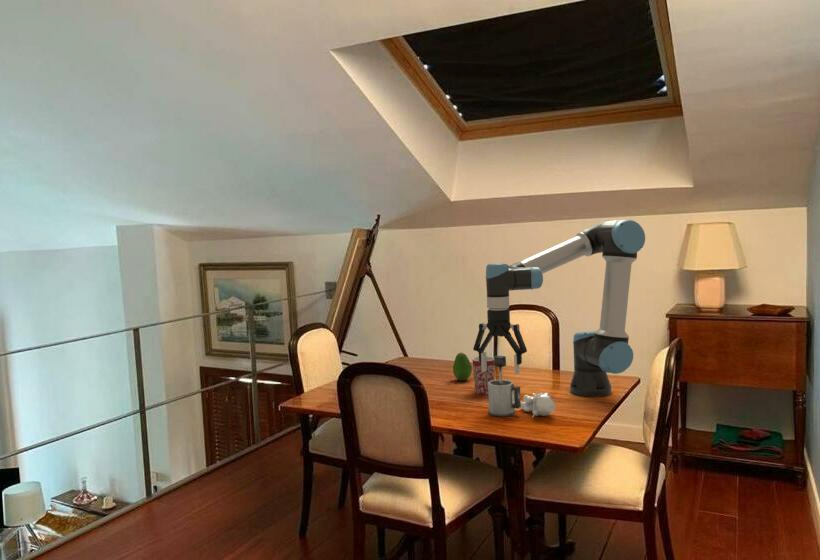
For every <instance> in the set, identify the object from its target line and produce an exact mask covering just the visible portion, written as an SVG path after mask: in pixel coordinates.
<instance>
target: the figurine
mask: <svg viewBox="0 0 820 560" xmlns="http://www.w3.org/2000/svg"><path fill="white" fill-rule="evenodd" d="M522 398H523V399H522V400H523V401H521V400H520V402H521V407H520V408H521V410H524V411H525V412H528V413H529V412H531V411H532V412H531V413H532V416H531V418H534V417H535V416H536V417H538V416H543V417H544V416H550V415H551V414H553V412H554V411H555V408H556V403H555V399H553V396H551V395H550V392H549V391H547V392H538V393H537V394H535V393H532V396H530V395H528V394H524V395H523V397H522Z"/></svg>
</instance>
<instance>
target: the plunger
mask: <svg viewBox="0 0 820 560" xmlns="http://www.w3.org/2000/svg"><path fill="white" fill-rule="evenodd" d="M493 357H494V366H495V367H496V368H498V378H499V379H498V380H499V383H500V385H502V380H503V374H502V373H503V369H502V368H503V367H507V356H505V355H495V356H493Z"/></svg>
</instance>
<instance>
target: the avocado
mask: <svg viewBox="0 0 820 560" xmlns="http://www.w3.org/2000/svg"><path fill="white" fill-rule="evenodd" d="M472 371H473V365H472V364H471V362H470V359H469V357H468V355H466V354H465V353H464V352H458V353H457V354H456V356H455V359H454V362H453V365H452V372H453V375H454V377H455V378H456V380H458V381H465V380H468V379H469V378H470V377H471V375H472Z"/></svg>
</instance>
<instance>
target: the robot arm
mask: <svg viewBox="0 0 820 560" xmlns="http://www.w3.org/2000/svg"><path fill="white" fill-rule="evenodd" d="M645 242H646V233H645V230H644V228H643V227H642V226H641V224H639V223H638V222H637V221H635V220H632V219H627V218H626V219H614V220H604V221H601V222H599V223H596V224H593V225H591V226H589V227H588V228H586V229H584V230H581V231H579V232H577V233H576V236H575V237H573V238H570V239H568V240H566V241H563V242H561V243H558V244H556V245H554V246H552V247H550V248H549V247H548V248H547V249H545V250H542V251H540V252H537V253H535V254H534V255H531V256H528V257H526V258H524V259H522V260H520V261H517V262H514V263H513V264H511V265H508V263H506V262H497V263H488V264H487V265H486V267H485V284H486V308H487V310H486V311H487V312H486V313H487V322H486V323H485V322H482V323H479V324H478V332H477V335H476V339H475V342H474V345H473V348H472V349H473V351H474V352H478V357H479V362H481V364H482V372H485V371H487V361H486V356H487V351H485V350H486V348H487V346H488V345H489V343H490V342H491V340H492V339H493V337H504V339H506V341H507V342H508V344H509V345H510V347H511V348H512V351H514V353H515V354H514V355H513V362H514V363H513V365H514V370H513V371H514V376H515V375H519V374H520V365H521V364H522V363H523V361H522V360H523V358H522V357H523V356H522V355H523V354H526V353H527V352H528V350H527V347H526V344H525V341H524V339H523V336H522V333H521V331H520V324H519V323H516V324H512V323H511V322H510V321H511V316H510V315H511V314H510V313H511V312H510V309H509V307H510V291H523V290H525V291H526V290H535V289H537V290H538V289H540V288H541V287H542V286H543V284H544V275H543V274H545V273H547V272H549V271H552V270H555V269H557V268H558V267H560V266H564V265H565V264H568V263H570V262H572V261H575V260H577V259H579V258H581V257H584V256H585V257H590V256H592V255H596V254H600V253H602V254H601V255H602V256H601V257H602V258H603V259H604V260H605V269H604V281H603V282H604V283H603V288H602V289H603V292H602V302H601V311H600V321H599V328H598V329H597V330H591V331H589V330H588V331H579V332H575V333H574V334H573V340H572V344H573V345H572V346H573V370H574V371H573V374H572V378H571V382H570V384H569V392H570V393H571V394H573V395H576V396H582V397H603V396H608V395H610V394H611V393H612V385H611V381H610V379H609V376H608V374H615V375H616V374H617V375H618V374H621V373H623V372H626V370H627V369H629V368H630V367H631V365H632V363H633V360H634V350H633V348H632V347H631V346H630V344H629V339H630V337H629V334H628V333H627V332H626V322H627V315H628V314H627V312H628V301H629V293H630V292H629V291H630V282H631V275H632V274H631V272H632V264H633V263H634V262H636V260H637V259H638V253H639V251H641V250H642V248H643V247H644V246H645ZM486 329H487V330H488V333H487V335H486V337H485V339H484V340H483V338H484V334H485V331H486ZM510 330H512V332H513V334H514V337H515V338H514V337H513V336H512V333H511V332H510ZM515 339H516V340H515ZM482 341H483V342H482Z"/></svg>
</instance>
